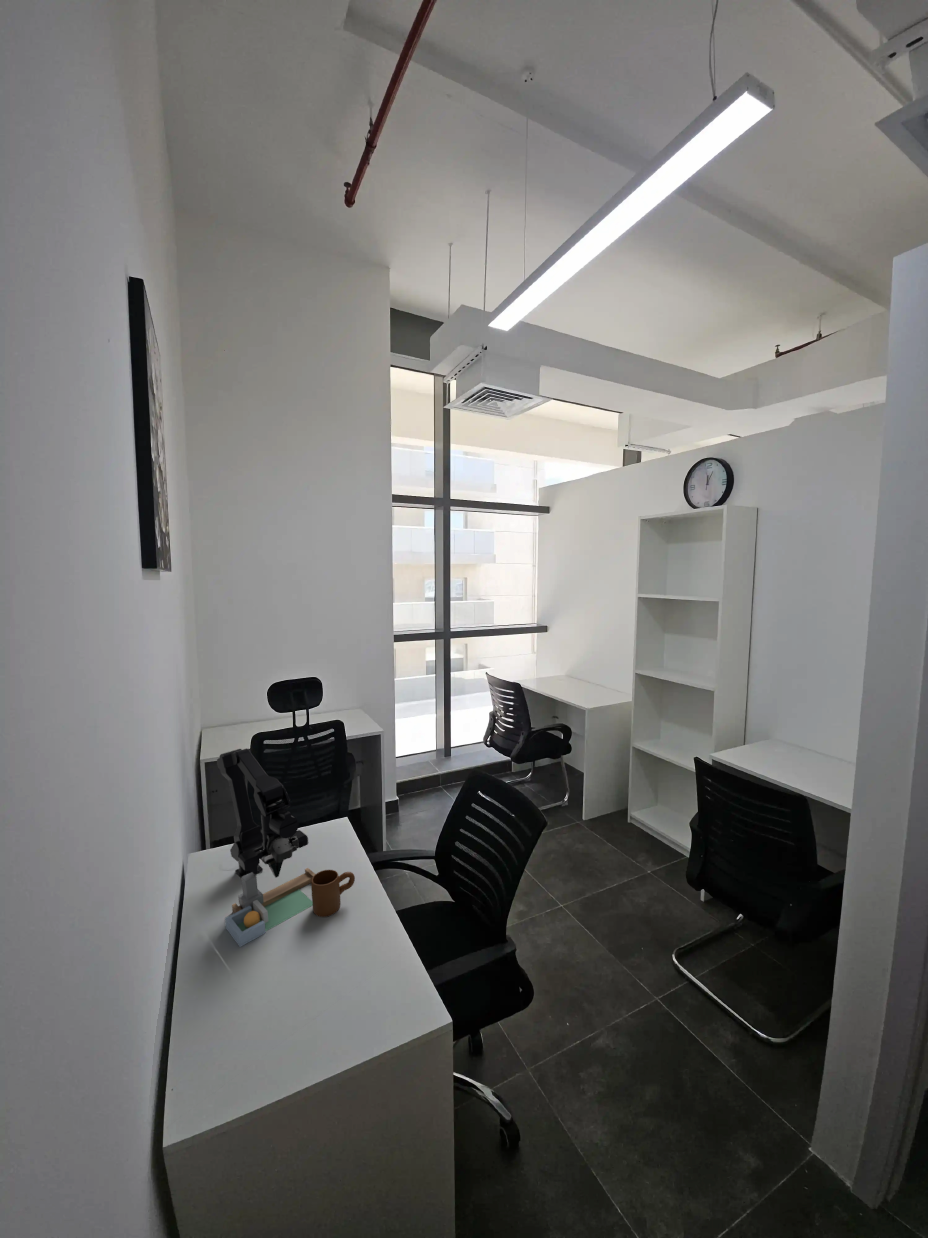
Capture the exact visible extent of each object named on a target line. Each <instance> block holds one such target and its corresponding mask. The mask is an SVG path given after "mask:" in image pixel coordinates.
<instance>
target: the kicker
mask: <svg viewBox="0 0 928 1238" xmlns="http://www.w3.org/2000/svg"><path fill="white" fill-rule="evenodd" d="M257 881H258V878H257V875H256V874H254V873H253V872H251V873H249V874H247V875H245V876H243V877H242V879H241V886H242V893H240V894H238V895H237V898H238V906H241V907H242V908H243V909H244V908H246V907H248V906H251V908H253V911H256V912H258V913H259V915H260V920H261V921H264V922H265V923H267V922H268V911H267V910H266V909H265V908H264V907H263V906H262V903H264V901H263V894H264V893H262V891H260V890H259V888H258V882H257Z"/></svg>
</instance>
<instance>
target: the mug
mask: <svg viewBox="0 0 928 1238" xmlns="http://www.w3.org/2000/svg"><path fill="white" fill-rule="evenodd" d="M347 878H349V879H348V881H347V882H346V883H343V884H341V885H340V883H342V882H343V881H344V880H346V879H347ZM355 879H356V877H355V874H354V873H353V872H352V871H344V872H343V873H342V874H340V875H339V872H338V871H336V870H333V869H324V870H320V871H319V872H317V873H315V875H314V876H313V877H312V880H311V883H310V884H311V885H310V886H311V887H310V888H311V901H312V903H313V906H312V910H313V913H314V914H315V916H317V917H321V918H325V917H326V918H327V917H329V916H332V915H334V914H335V913H337V912H338V910H340V907H341V895H342V894H343V893H344V892H345V891H347V890H349V889H351V887H352V886H354V884H355Z"/></svg>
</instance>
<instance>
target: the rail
mask: <svg viewBox="0 0 928 1238" xmlns="http://www.w3.org/2000/svg"><path fill="white" fill-rule="evenodd" d="M315 874H316V873H315V872H314V871H312V870H311V869H310V868H309V867H306V868H304V873H303V874H300V875H298V876H296V877H295V878H292V879H290V880H289V881H286V882H284V883H283V884H280V885H278V886H276V887H274V888H272V889H270V890H269V891H266V892H264V893H262V894H263V901H264V903H262V906H263V907H265V906H267V905H269V904H271V903H273V902H274V901H276V900H278V899H280V898H282V897H284V896H286V895H288V894H290V893H292V892H294V891H296V890H298V889H299V890H301V889H302V888H304V887H306V886H308V885H310V884H311V880H312V877H313V876H314V875H315ZM242 909H243V908H242V907H241V906H240V905H239V904H237V903H236V902H235V903H232V904H231V911H232V914H234V913H236V912H238V911H240V910H242ZM252 911H253V908H252Z"/></svg>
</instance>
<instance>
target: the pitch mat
mask: <svg viewBox="0 0 928 1238" xmlns="http://www.w3.org/2000/svg"><path fill="white" fill-rule="evenodd" d="M311 907H313V903H312V899H311V898H309V897H308V895H306V894H305V893H304V892H303V891H302V890H301V889H298V890H296V891H294V892H292V893H290V894H288V895H286V896H284V897H282V898H280V899H278V900H276V901H274V902H273V903H271V904H269V905H267V906H265V907H264V908H265V909H266V910H267V911H268V922H267V923H265V931H266V932H267V931H269V930H271V929H273V928H274V927H277V926H279V925H280V924H281V923H284V922H286V921H288V920H289V919H291V918H292V917H294V916H296V915H298V914H300V913H302V912H303V911H305V910H307V909H308V908H311ZM259 922H261V920H260V921H259ZM237 926H238V927H239V928H240V930H241V931H244V930H246V929H248V928H247V927H246V926H245V925H244V922H242V923H240V924H238V925H237Z"/></svg>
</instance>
